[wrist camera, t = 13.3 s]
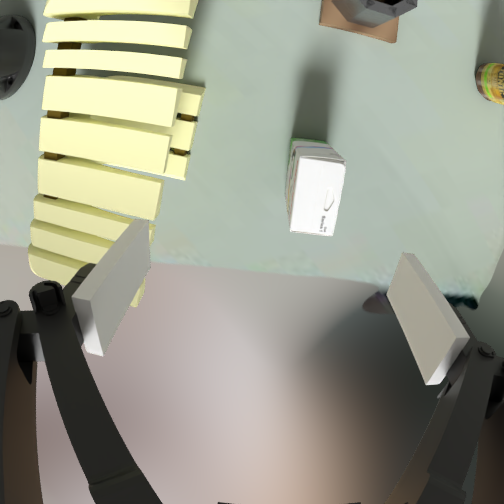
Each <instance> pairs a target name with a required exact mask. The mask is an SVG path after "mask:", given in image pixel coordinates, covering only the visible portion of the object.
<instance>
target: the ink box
mask: <svg viewBox="0 0 504 504" xmlns="http://www.w3.org/2000/svg"><path fill="white" fill-rule="evenodd" d="M345 166H346V161H345V160H344V159H343V158H342V157H341V156H340V155H339V154H338V153H337V152H336V151H335V150H334V149H333V148H332V147H331V146H330V145H329V144H327V143H326V142H325V141H320V140H312V139H303V138H291V145H290V154H289V164H288V172H287V181H286V189H285V199H286V206H287V212H288V219H289V227H290V231H291V232H297V233H305V234H314V235H323V236H332V235H333V232H334V228H335V223H336V219H337V213H338V208H339V204H340V199H341V192H342V188H343V183H344V176H345V172H346V168H345Z"/></svg>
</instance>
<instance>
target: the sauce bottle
mask: <svg viewBox="0 0 504 504" xmlns="http://www.w3.org/2000/svg"><path fill="white" fill-rule="evenodd" d="M476 84H477V88H478V91H479V92H480V93H481V95H482V96H483V97H484V98H486V99H487V100H489V101H493V102H495V103H499V104H502V105H504V64H499V63H485V64H483V65H481V66H480V67H479V69H478V71H477V73H476Z"/></svg>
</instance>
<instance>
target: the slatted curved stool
mask: <svg viewBox="0 0 504 504" xmlns="http://www.w3.org/2000/svg"><path fill="white" fill-rule="evenodd" d="M197 4H198V0H47V2H46V6H45V9H44V13H43V15H44V16H46V17H50V18H56V19H61V20H64V22H51V23H47V24H46V27H45V31H44V36H43V40H42V42H48V43H59V44H58V49H57V50H46V52H45V57H44V62H43V68H54V69H53V75H48V76H46V81H45V88H44V95H43V103H42V110H48V112H47V115H45V116H43V117H41V125H40V139H39V151H44V154H43V155H41V156H40V157H39V159H38V193H39V194H37V195H36V196H35V198H34V219H33V221H32V222H31V225H30V230H31V241H32V242H31V244H30V245H29V248H28V256H29V264H30V268H31V270H32V271H33V272H34V273H35V274H36V275H38V276H40V277H42V278H45V279H48V280H51V281H56V282H58V283H60V284H62V285H65V286H66V285H67V284H68V282H70V280H71V279H72V278H73V276H75V274H76V273H77V271H78V270H79V269H80V268H81V267H83V266H85V265H86V264H88V263H94V264H97V263H98V262H99V261H100V260H101V258H102V257H103V256H104V255H105V253H106V252H107V251H108V250H109V249H110V247H111V246H112V245H113V244H114V243H115V242H113V241H110V240H107V239H111V240H115V241H116V240H117V239H118V238H119V237H120V235H121V234H122V233H123V232H124V231H125V230H126V228H127V227H128V226H129V225H130V224H131V223H132V222H133V220H134V219H130V218H127V217H123V216H120V215H116V214H113V213H110V212H107V211H104V210H101V209H98V208H96V207H99V208H104V209H108V210H112V211H116V212H120V213H124V214H128V215H133V216H137V217H141V218H145V219H149V220H153V221H154V220H155V218H156V217H157V216H158V215H159V212H160V205H161V198H162V192H163V186H164V180H162V179H157V178H153V177H149V176H144V175H140V174H136V173H131V172H127V171H123V170H119V169H115V168H111V167H108V166H104V165H101V164H110V165H116V166H121V167H125V168H130V169H135V170H140V171H145V172H149V173H154V174H159V175H163V176H168V177H172V178H177V179H181V180H186V175H187V170H188V165H189V160H190V155H189V154H187V151H189V150H190V149H192V145H193V141H194V136H195V131H196V127H197V123H198V122H197V121H194V117H195V116H198V115H199V114H200V110H201V105H202V101H203V97H204V93H205V89H206V88H203V87H198V86H193V85H187V84H181V83H175V82H169V81H162V80H155V79H148V78H140V77H131V76H122V75H115V76H109V77H105V78H102V77H98V76H90V75H75V73H76V68H82V69H100V70H113V71H124V72H133V73H142V74H150V75H158V76H165V77H171V78H178V79H183V74H184V70H185V66H186V62H187V60H186V59H183V58H178V57H171V56H163V55H154V54H145V53H134V52H122V51H105V50H80V48H81V44H82V43H100V42H113V43H134V44H147V45H158V46H167V47H175V48H182V49H187V48H188V45H189V41H190V37H191V34H192V29H190V28H189V27H188V26H185V25H177V24H167V23H156V22H142V21H118V20H99V18H100V16H103V15H113V14H145V15H163V16H174V17H184V18H192V19H193V17H194V13H195V10H196V7H197ZM87 20H88V21H87ZM177 113H182V115H181V118H176V116H177ZM170 147H172V148H175V149H174V151H170ZM93 206H95V207H93ZM155 226H156V225H153V224H149V243H150V245H151V244H152V242H153V241H154V233H155ZM99 236H100V237H99ZM101 237H104V238H107V239H104V238H101ZM144 288H145V278H144V280H143V282H142V284H141V285H140V287H139V289H138V291H137V293H136V295H135V296H134V298H133V300H132V302H131V304H130V306H133V307H137V305H138V303H139V302H140V300H141V298H142V296H143V293H144Z"/></svg>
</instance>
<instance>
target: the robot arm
mask: <svg viewBox="0 0 504 504" xmlns="http://www.w3.org/2000/svg"><path fill="white" fill-rule="evenodd" d="M34 53H35V35H34V31H33V28H32V26H31V24H30V23H29V21H28V20H27V19H25V18H24V17H21V16H15V15H6V16H2V17H0V100H4V99H6V98H8V97H10V96H12V95H13V94H14V93H15V92H16V91H17V90H18V89H19V88H20V87H21V85H22V84H23V83H24V81H25V79H26V77H27V75H28V73H29V71H30V68H31V66H32V62H33V58H34ZM149 269H150V243H149V220H141V219H134V220H133V222H132V223H131V224H130V225H129V226H128V227H127V228H126V230H125V231H124V232H123V233H122V234H121V235H120V237H119V238H118V239H117V240H116V241H115V243H114V244H113V245H112V246H111V247H110V249H109V250H108V251H107V252H106V253H105V255H104V256H103V257H102V258H101V260H100V261H99V262H98V263H97V264H94V263H88V264H86V265H85V266H83V267H81V268H80V269H79V270H78V271H77V273H76V274H75V276H73V278H72V279H71V280H70V282H68V284H67V285H66V286H65V287H64V289H63V290H62V286H61V285H60V283H58V282H56V281H51V280H49V281H43V282H40V283H38V284H36V285H35V286H33V287H32V289H31V290H30V292H29V297H30V301H31V303H32V307H33V310H34V311H20V309H19V306H18V304H17V303H16V302H14V301H12V300H6V301H2V302H0V504H43V499H42V492H41V485H40V476H39V466H38V454H37V438H36V378H37V362H45V363H46V367H47V371H48V375H49V378H50V381H51V385H52V388H53V392H54V395H55V398H56V401H57V405H58V408H59V411H60V414H61V417H62V419H63V422H64V425H65V428H66V430H67V433H68V436H69V438H70V441H71V444H72V446H73V448H74V451H75V453H76V455H77V458H78V460H79V463H80V465H81V467H82V469H83V472H84V474H85V476H86V478H87V480H88V483H89V490H90V493H91V495H92V497H93V500H94V502H95V503H96V504H162V502H161V501H160V499H159V498H158V496H157V495H156V493H155V492H154V490H153V489H152V487H151V485H150V484H149V482H148V481H147V479H146V477H145V476H144V474H143V473H142V471H141V470H140V468H139V467H138V466H137V464H136V463H135V461H134V459H133V457H132V456H131V454H130V452H129V450H128V449H127V447H126V445H125V443H124V441H123V439H122V437H121V436H120V434H119V432H118V430H117V428H116V426H115V424H114V422H113V420H112V418H111V416H110V414H109V412H108V410H107V408H106V406H105V403H104V401H103V399H102V397H101V395H100V393H99V390H98V388H97V386H96V383H95V381H94V379H93V376H92V374H91V372H90V369H89V367H88V365H87V362H86V359H85V357H84V355H83V352H82V349H81V346H82V344H83V342H84V345H85V348H86V351H87V352H88V353H93V354H96V355H101V356H104V354H105V352H106V350H107V348H108V346H109V344H110V342H111V340H112V338H113V337H114V335H115V333H116V330H117V329H118V326H119V325H120V323H121V321H122V319H123V317H124V315H125V313H126V311H127V310H128V308H129V306H130V304H131V302H132V300H133V298H134V296H135V295H136V293H137V291H138V289H139V287H140V285H141V284H142V282H143V280H144V278H145V276H146V275H147V273H148V271H149ZM387 297H388V299H389V301H390V303H391V305H392V307H393V310H394V312H395V314H396V316H397V318H398V320H399V323H400V325H401V327H402V329H403V331H404V334H405V336H406V338H407V341H408V342H409V345H410V347H411V350H412V352H413V355H414V357H415V359H416V362H417V364H418V367H419V369H420V371H421V374H422V376H423V379H424V381H425V384H426V385H432V384H440V382H441V381H442V380H443V378H444V377H445V375H447V377H448V379H449V382H448V383H447V385H446V386H445V387H444V389H443V390H442V391H441V393H440V394H439V395H438V397H437V398H439V397H440V396H441V398H440V400H439V402H438V405H437V407H436V410H435V412H434V414H433V416H432V418H431V420H430V423H429V425H428V427H427V429H426V431H425V433H424V435H423V437H422V439H421V441H420V443H419V445H418V447H417V449H416V451H415V453H414V455H413V456H412V458H411V460H410V462H409V464H408V466H407V467H406V469H405V471H404V473H403V474H402V476H401V478H400V479H399V481H398V483H397V484H396V486H395V488H394V490H393V491H392V493H391V494H390V496H389V497H388V499H387V500H386V502H385V503H384V504H464V501H465V498H466V492H465V491H463V490H462V489H461V488H462V485H463V482H464V480H465V477H466V474H467V472H468V469H469V466H470V463H471V460H472V457H473V454H474V451H475V448H476V445H477V442H478V453H477V466H476V475H475V484H474V491H473V498H472V504H504V358H501V357H498V356H496V353H495V351H494V350H493V349H492V348H491V347H490V346H489V345H487V344H486V343H483V342H478V341H477V340H476V338H475V336H474V335H473V333H472V332H471V330H470V328H469V327H468V325H467V324H466V322H465V321H464V319H462V316H461V314H460V313H459V311H458V310H457V309H456V308H455V307H454V306H453V305H452V304H451V303H448V302H447V300H446V299H445V297H444V296H443V294H442V293H441V291H440V290H439V288H438V287H437V285H436V284H435V282H434V281H433V280H432V278H431V277H430V275H429V274H428V272H427V271H426V270H425V268H424V267H423V265H422V264H421V263H420V261H419V260H418V259H417V257H416V256H415V255H414V254H411V253H404V252H402V254H401V257H400V260H399V263H398V266H397V268H396V271H395V274H394V276H393V279H392V282H391V284H390V287H389V290H388V292H387ZM218 504H229V503H220V502H218ZM349 504H361V503H349Z"/></svg>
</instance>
